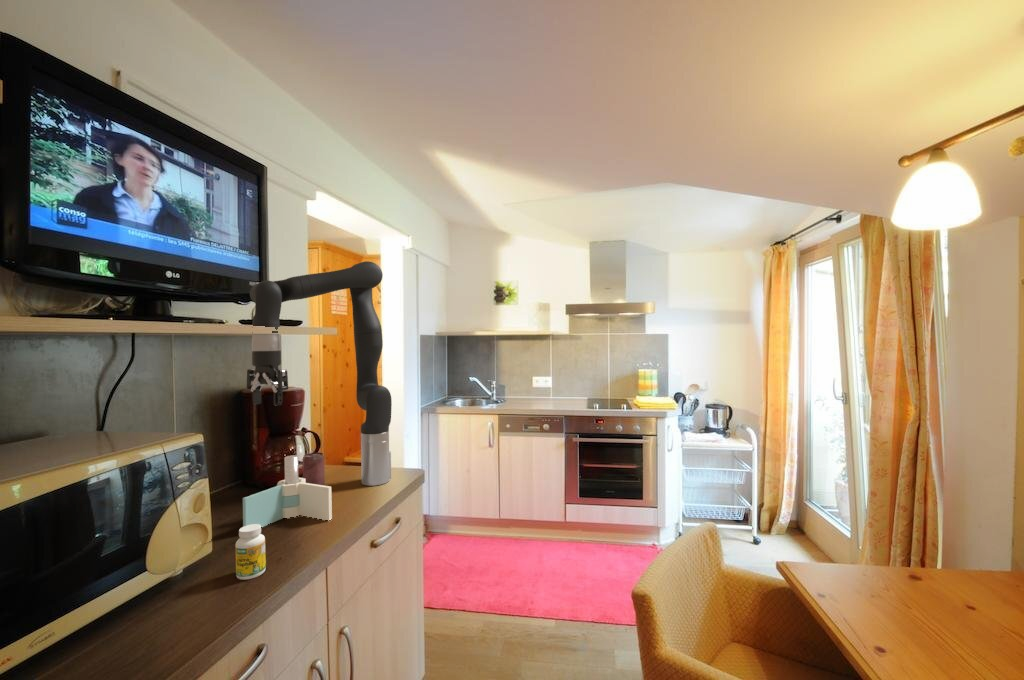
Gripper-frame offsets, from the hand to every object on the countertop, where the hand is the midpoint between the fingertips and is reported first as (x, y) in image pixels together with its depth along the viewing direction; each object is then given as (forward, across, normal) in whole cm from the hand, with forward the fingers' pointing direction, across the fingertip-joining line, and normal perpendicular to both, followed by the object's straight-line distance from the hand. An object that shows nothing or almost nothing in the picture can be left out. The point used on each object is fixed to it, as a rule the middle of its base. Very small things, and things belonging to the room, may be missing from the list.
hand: (267, 404), depth 130 cm
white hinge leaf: (+30, -16, +1) cm, 34 cm away
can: (+30, -8, -9) cm, 33 cm away
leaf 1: (+30, -10, +6) cm, 33 cm away
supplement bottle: (+30, -30, +28) cm, 51 cm away
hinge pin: (+30, -11, +1) cm, 32 cm away
